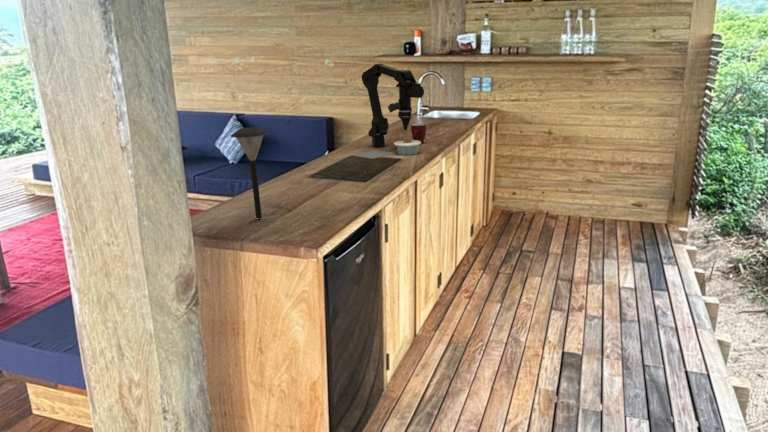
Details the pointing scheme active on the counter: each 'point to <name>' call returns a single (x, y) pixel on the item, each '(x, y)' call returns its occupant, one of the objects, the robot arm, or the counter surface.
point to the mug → (418, 132)
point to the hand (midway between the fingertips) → (405, 128)
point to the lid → (407, 141)
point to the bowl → (407, 150)
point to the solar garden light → (252, 157)
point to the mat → (373, 154)
